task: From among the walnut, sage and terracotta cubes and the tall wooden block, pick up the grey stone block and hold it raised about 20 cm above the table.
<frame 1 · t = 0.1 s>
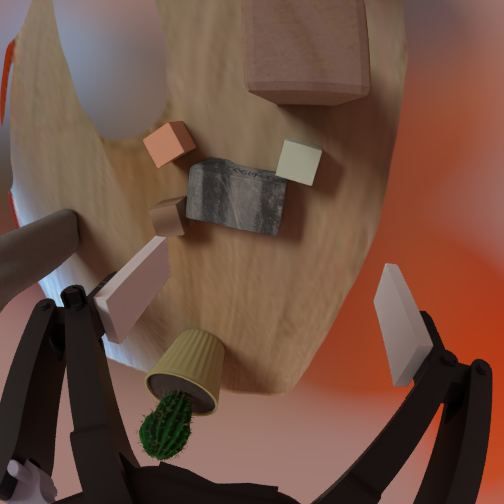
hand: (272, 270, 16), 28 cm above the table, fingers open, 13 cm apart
potted cactus: (201, 345, 62), on the table
walnut cube: (178, 211, 47), on the table
sage cube: (299, 157, 39), on the table
terracotta cube: (177, 141, 41), on the table
wooden block: (305, 72, 33), on the table
stone block: (240, 188, 44), on the table
vase: (69, 225, 53), on the table
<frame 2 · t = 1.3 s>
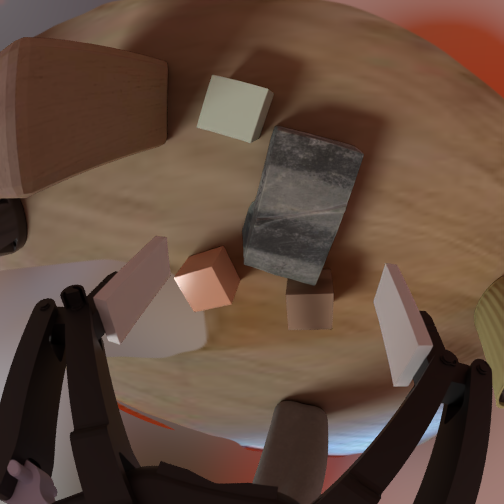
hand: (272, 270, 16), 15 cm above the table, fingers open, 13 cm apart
potted cactus: (499, 303, 30), on the table
walnut cube: (310, 287, 34), on the table
sage cube: (243, 108, 26), on the table
terracotta cube: (214, 268, 35), on the table
wooden block: (133, 105, 27), on the table
stone block: (294, 196, 30), on the table
vase: (298, 409, 47), on the table
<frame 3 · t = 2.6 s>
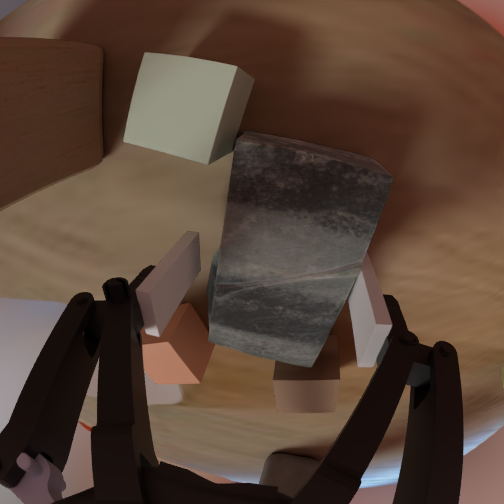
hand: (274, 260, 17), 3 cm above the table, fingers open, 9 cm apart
walnut cube: (308, 354, 24), on the table
sage cube: (206, 105, 16), on the table
terracotta cube: (181, 327, 25), on the table
wooden block: (65, 111, 17), on the table
stone block: (280, 238, 20), on the table
vase: (292, 459, 38), on the table
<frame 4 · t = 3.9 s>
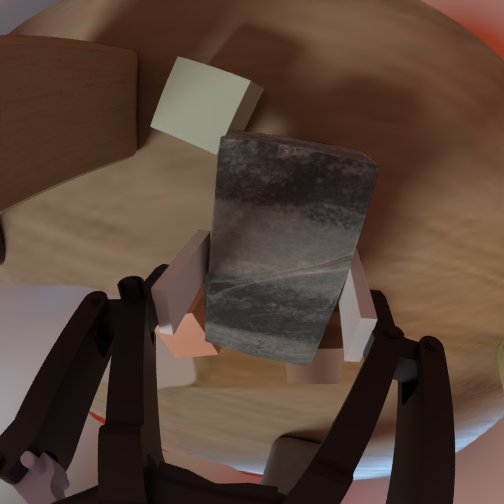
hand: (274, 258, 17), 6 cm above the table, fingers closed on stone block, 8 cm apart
walnut cube: (315, 330, 27), on the table
sage cube: (220, 105, 19), on the table, touching stone block
terracotta cube: (200, 305, 29), on the table
wooden block: (100, 108, 21), on the table
stone block: (274, 236, 20), point 3 cm above the table, touching gripper, sage cube
vase: (298, 444, 41), on the table
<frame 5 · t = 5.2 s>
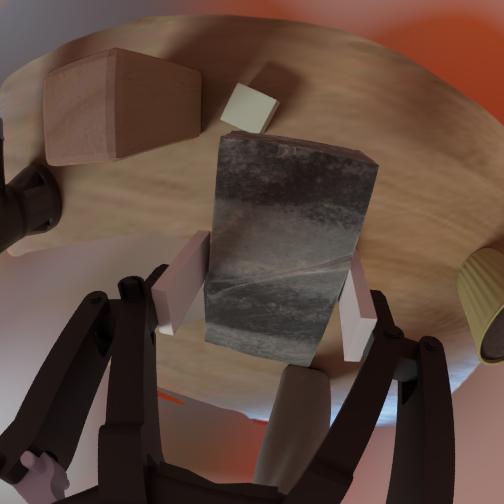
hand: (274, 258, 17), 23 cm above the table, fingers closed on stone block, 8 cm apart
potted cactus: (479, 274, 38), on the table
sage cube: (255, 110, 34), on the table
wooden block: (171, 105, 35), on the table
stone block: (274, 236, 20), point 20 cm above the table, touching gripper
vase: (303, 375, 55), on the table
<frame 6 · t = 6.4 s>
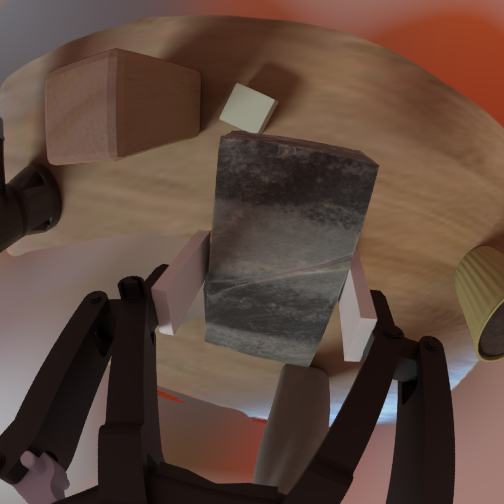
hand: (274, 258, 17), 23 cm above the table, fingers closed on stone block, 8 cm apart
potted cactus: (477, 272, 38), on the table
sage cube: (253, 109, 34), on the table
wooden block: (171, 105, 36), on the table
stone block: (274, 236, 20), point 20 cm above the table, touching gripper
vase: (302, 373, 56), on the table
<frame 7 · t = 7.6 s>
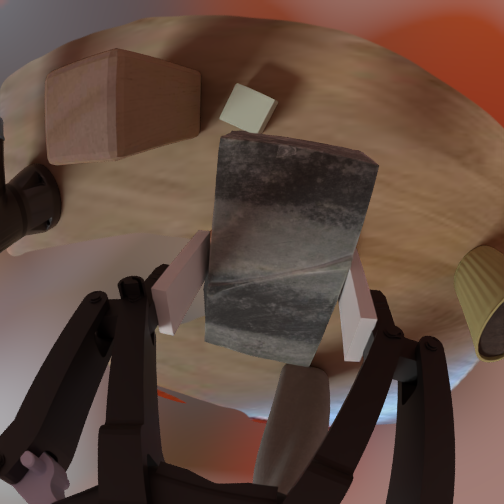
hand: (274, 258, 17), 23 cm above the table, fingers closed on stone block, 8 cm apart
potted cactus: (477, 272, 38), on the table
sage cube: (253, 109, 34), on the table
wooden block: (171, 105, 36), on the table
stone block: (274, 236, 20), point 20 cm above the table, touching gripper
vase: (302, 373, 56), on the table
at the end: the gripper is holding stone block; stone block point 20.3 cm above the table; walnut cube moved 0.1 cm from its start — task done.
